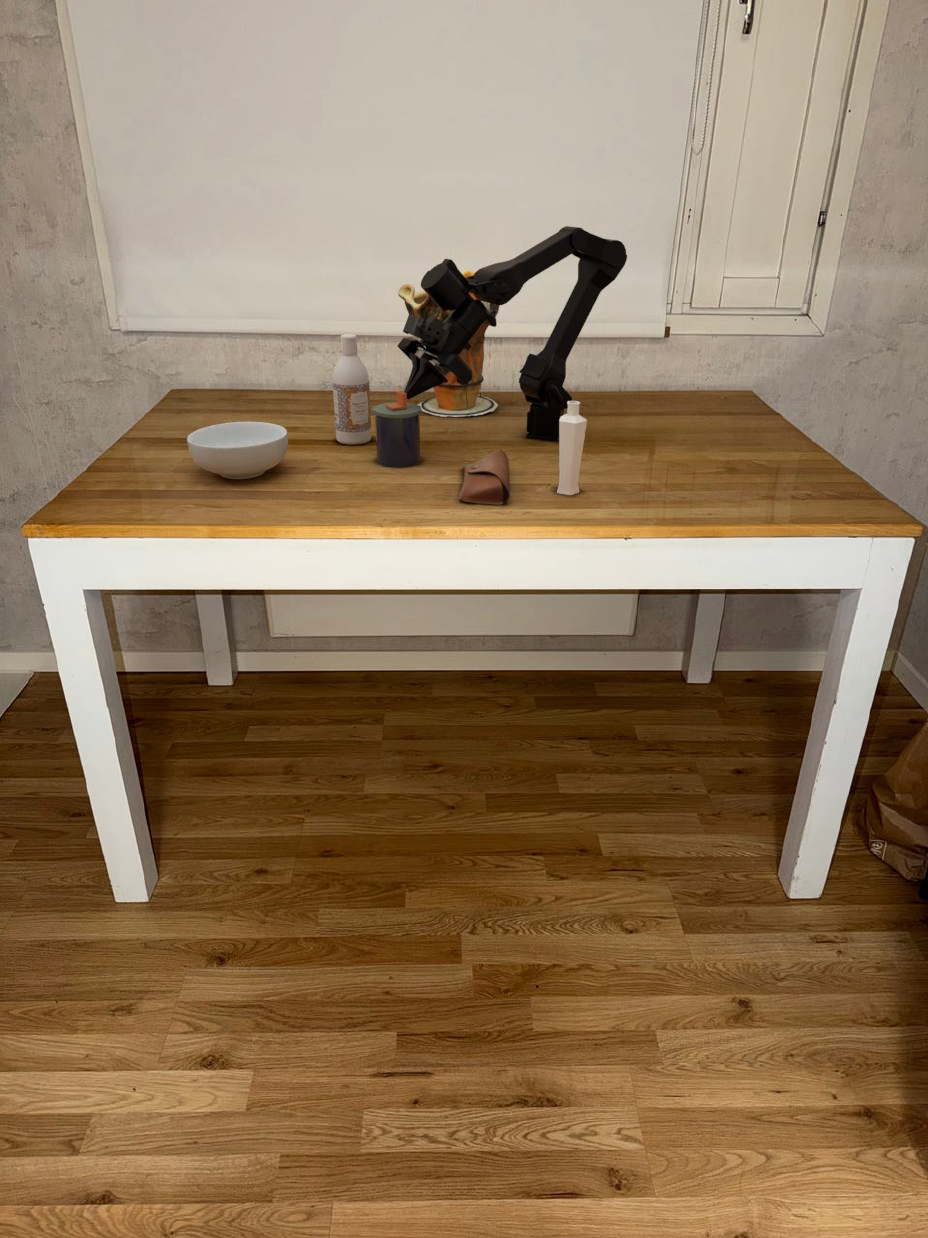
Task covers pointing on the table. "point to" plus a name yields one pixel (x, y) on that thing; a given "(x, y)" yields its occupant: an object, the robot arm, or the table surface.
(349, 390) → the bath foam
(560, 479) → the white tall faceted bottle
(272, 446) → the cereal bowl
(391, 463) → the travel cup
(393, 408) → the slider
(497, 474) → the sunglasses case
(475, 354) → the decorative vase
